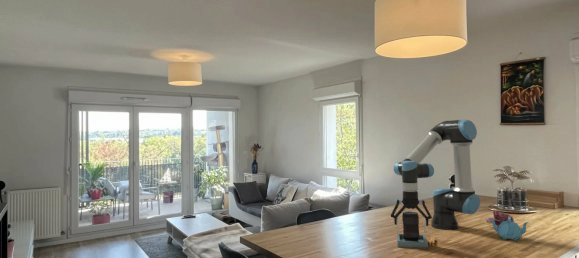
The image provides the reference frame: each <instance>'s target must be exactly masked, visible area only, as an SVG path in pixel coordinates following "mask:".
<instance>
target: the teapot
mask: <svg viewBox="0 0 579 258" xmlns="http://www.w3.org/2000/svg"><path fill="white" fill-rule="evenodd" d="M490 220H491V219H490ZM491 221H492V223H491V224H492V226H493V229H494V230H495V232H496V233H497V235H498V236H499V237H500V238H502V240H503V241H507V240H508V239H511V240H512V241H513V242H518V239H521V238H523V235H524V234H525V233H526V231H527V225H528V224H529V223H530V222H529V221H527V222H524V223H523V226H522V228H521V227H520V225H519V224H518V223H517V222H515V221H514V222H511V221H512V220H511V218H510V217H509V218H508V220H507V221H503V222H501V224H500V225H499V227H497V226H496V224H495V221H494V220H491Z"/></svg>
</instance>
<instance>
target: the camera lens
mask: <svg viewBox="0 0 579 258" xmlns="http://www.w3.org/2000/svg"><path fill="white" fill-rule="evenodd" d="M401 215H402V216H401V217H402V231H403V233H402V234H403V235H404V239H405V241H418V240H419V235H420V227H419V226H420V225H419V224H420V223H419V222H420V218H419V213H418V212H416V211H403V212H402V214H401Z"/></svg>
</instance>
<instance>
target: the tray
mask: <svg viewBox="0 0 579 258" xmlns="http://www.w3.org/2000/svg"><path fill="white" fill-rule="evenodd" d="M396 242H397V248H410V249H426V250H428V249H429V242H428V239H427V237H426V234H419V240H418V241H405V239H404V235H403V233H396Z"/></svg>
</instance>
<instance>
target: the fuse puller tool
mask: <svg viewBox="0 0 579 258" xmlns="http://www.w3.org/2000/svg"><path fill="white" fill-rule="evenodd" d="M435 242H436V237H435V236H431V237H430V240H429V246H435Z"/></svg>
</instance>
